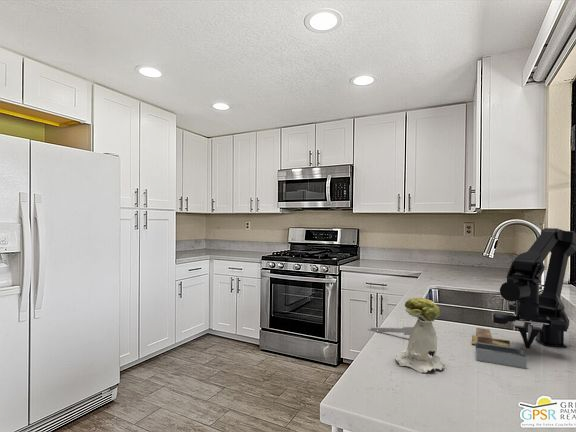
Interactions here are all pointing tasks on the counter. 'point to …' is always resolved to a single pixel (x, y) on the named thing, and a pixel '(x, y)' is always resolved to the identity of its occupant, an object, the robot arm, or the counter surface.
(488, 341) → the walnut beam
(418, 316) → the ceramic tree figurine
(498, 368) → the counter surface
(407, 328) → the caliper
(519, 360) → the v block
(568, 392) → the counter surface
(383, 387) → the counter surface
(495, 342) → the golden bar
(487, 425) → the counter surface
